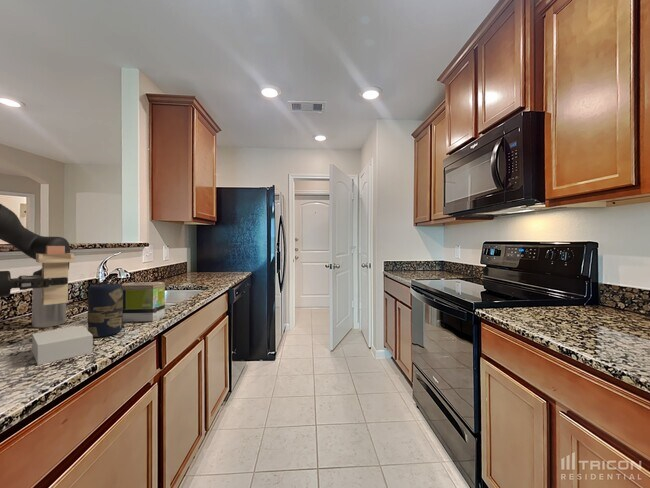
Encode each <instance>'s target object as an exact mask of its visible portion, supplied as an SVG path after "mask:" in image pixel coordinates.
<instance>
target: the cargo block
mask: <svg viewBox="0 0 650 488" xmlns="http://www.w3.org/2000/svg"><path fill="white" fill-rule="evenodd" d="M46 254H65V246H46Z"/></svg>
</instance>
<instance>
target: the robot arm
mask: <svg viewBox="0 0 650 488" xmlns="http://www.w3.org/2000/svg"><path fill="white" fill-rule="evenodd" d="M0 240H1V241H2V242H4V243H8V244H9V245H10V246H11V247H12V246H13V247H14V248H15V249H17V250H19V252H22V254H25V255H26V256H27V257H29V258H31V259H33V260H35V261H36V254H45V253H46V246H65V253H71V246H70V243H69V241H68V239H67V238H65V237H62V236H43V235H40V234H37V233H35V232H33V231H31V230H30V229H27V228H26V227H25V226H24V225H23V223H21V220H20V218H19V217H18V215H17V214H16V213H15V212H14V211H12V210H11V209H9V208H8V207H6V206H5V205H3V204H2V203H0ZM70 263H71V262H68V271H69V270H70ZM42 281H44V285H42ZM67 283H68V284H69V277H68V278H67V277H61V278H42V268H40V269H38V270H36V271H33V272H32V275H24V274H23V275H19V276H17V277H14V278H12V277H11V271H10V270H0V298H5V297H10V295H11V291H12V289H19V290H20V291H25V290H26V291H27V290H29V289H30V290H31V289H32V301H31V303H32V304H31V312H32V313H31V326H32V328H49V327H55V326H60V325H64V324H65V323H66V322H67V303H59V304H50V305H43V304H42V288H43V287H45V288H47V287H49V286H51V285H64V284H67Z"/></svg>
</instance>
